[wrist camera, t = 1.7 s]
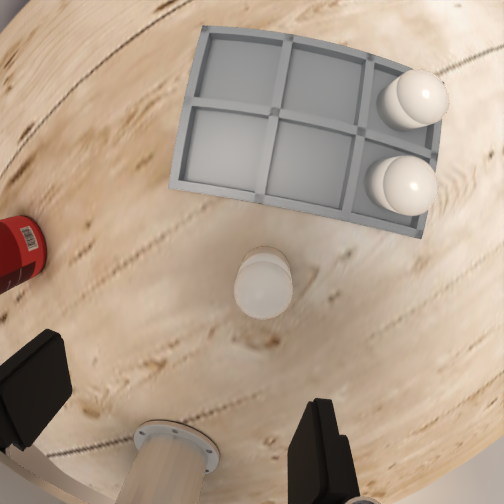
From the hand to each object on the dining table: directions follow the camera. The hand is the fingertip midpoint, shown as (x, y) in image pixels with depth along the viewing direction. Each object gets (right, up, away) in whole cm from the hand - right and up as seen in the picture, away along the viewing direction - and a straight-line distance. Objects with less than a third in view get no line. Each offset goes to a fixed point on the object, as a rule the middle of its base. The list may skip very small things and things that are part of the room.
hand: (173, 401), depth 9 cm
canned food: (-25, +6, +20) cm, 33 cm away
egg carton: (+8, +16, +15) cm, 24 cm away
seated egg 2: (+15, +11, +16) cm, 24 cm away
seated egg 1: (+16, +18, +14) cm, 28 cm away
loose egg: (+4, +3, +19) cm, 20 cm away
